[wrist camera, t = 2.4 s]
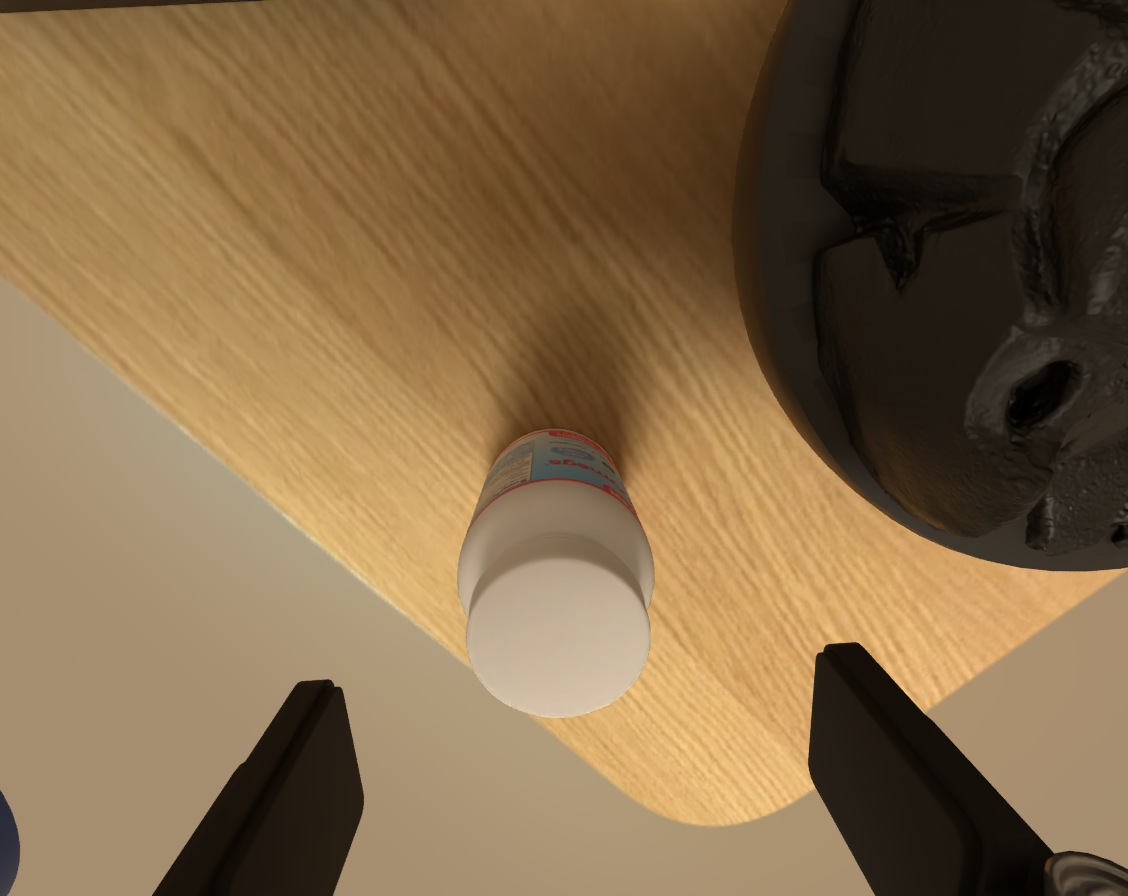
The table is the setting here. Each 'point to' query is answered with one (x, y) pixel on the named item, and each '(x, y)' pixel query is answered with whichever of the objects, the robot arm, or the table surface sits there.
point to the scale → (90, 4)
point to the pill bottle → (556, 578)
